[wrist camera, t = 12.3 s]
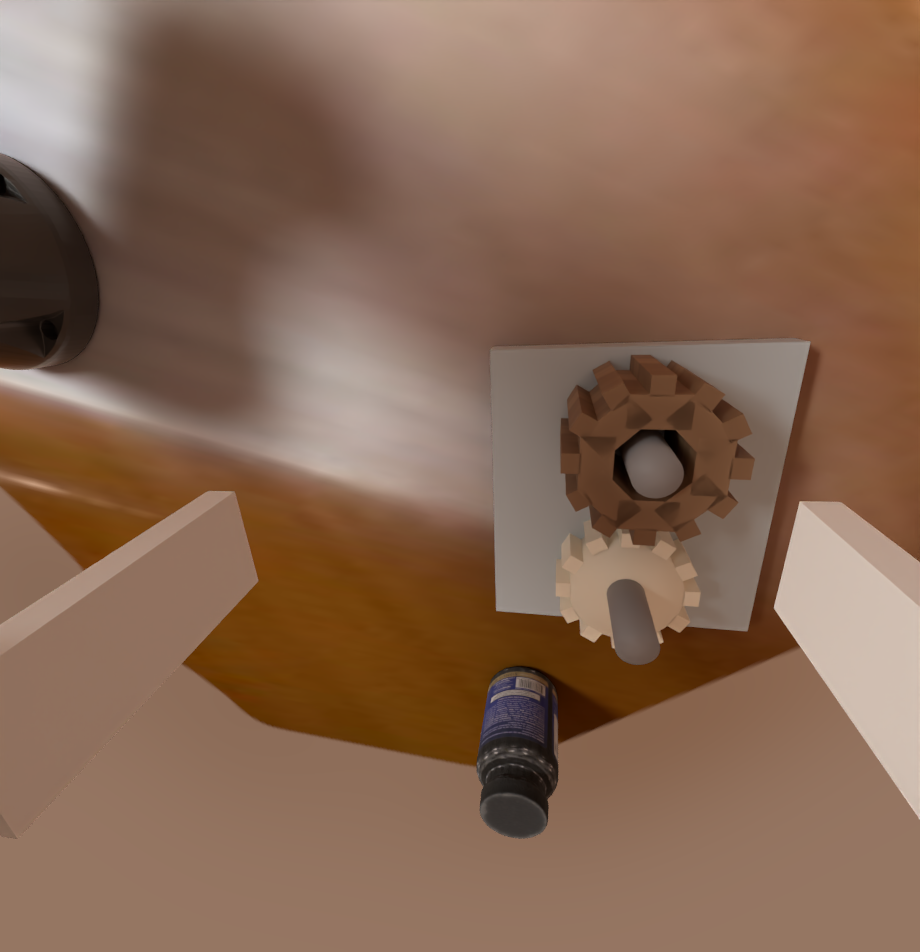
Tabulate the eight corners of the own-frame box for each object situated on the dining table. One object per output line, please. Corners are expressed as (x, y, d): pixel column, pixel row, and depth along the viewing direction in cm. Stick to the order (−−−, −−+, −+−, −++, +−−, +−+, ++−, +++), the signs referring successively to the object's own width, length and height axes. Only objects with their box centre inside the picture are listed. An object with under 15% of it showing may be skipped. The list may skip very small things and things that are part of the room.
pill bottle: (475, 682, 43) (450, 804, 33) (525, 652, 41) (515, 773, 31) (521, 725, 44) (510, 856, 34) (572, 697, 41) (577, 829, 31)
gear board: (499, 595, 39) (481, 690, 30) (493, 346, 32) (467, 371, 22) (737, 613, 35) (799, 727, 26) (794, 337, 28) (907, 363, 19)
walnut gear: (557, 489, 32) (557, 540, 26) (563, 355, 29) (565, 375, 23) (698, 495, 31) (735, 550, 24) (722, 353, 27) (772, 374, 21)
